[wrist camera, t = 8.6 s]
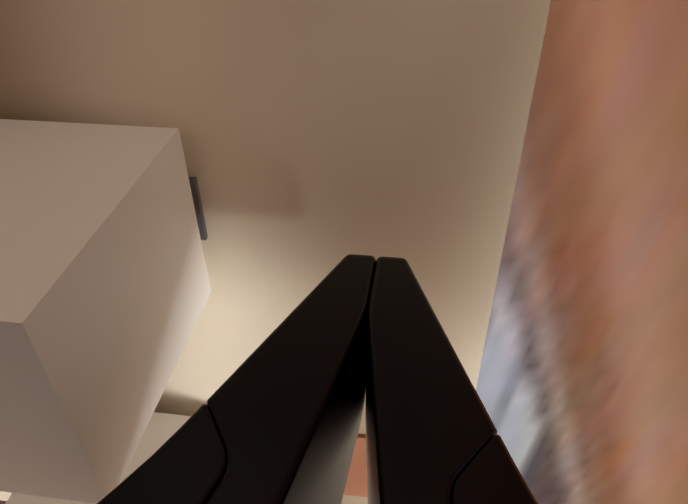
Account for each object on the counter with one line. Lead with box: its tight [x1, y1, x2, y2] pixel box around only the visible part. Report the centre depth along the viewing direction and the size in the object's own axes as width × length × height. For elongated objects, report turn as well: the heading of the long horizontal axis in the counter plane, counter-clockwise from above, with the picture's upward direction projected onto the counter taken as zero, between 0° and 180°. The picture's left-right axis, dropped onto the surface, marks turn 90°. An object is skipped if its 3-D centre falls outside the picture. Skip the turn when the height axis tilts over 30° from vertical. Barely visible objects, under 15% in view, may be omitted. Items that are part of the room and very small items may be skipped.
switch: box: [0, 119, 211, 504], centre depth 8 cm, size 4×3×4 cm
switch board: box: [0, 0, 551, 504], centre depth 11 cm, size 18×22×3 cm
